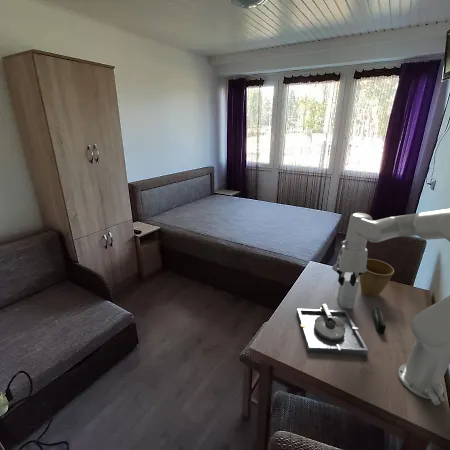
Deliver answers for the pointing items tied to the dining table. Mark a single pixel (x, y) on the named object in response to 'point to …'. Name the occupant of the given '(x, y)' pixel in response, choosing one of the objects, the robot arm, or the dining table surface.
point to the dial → (329, 325)
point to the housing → (318, 344)
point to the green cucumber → (378, 320)
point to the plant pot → (375, 277)
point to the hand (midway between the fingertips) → (346, 283)
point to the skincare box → (347, 292)
